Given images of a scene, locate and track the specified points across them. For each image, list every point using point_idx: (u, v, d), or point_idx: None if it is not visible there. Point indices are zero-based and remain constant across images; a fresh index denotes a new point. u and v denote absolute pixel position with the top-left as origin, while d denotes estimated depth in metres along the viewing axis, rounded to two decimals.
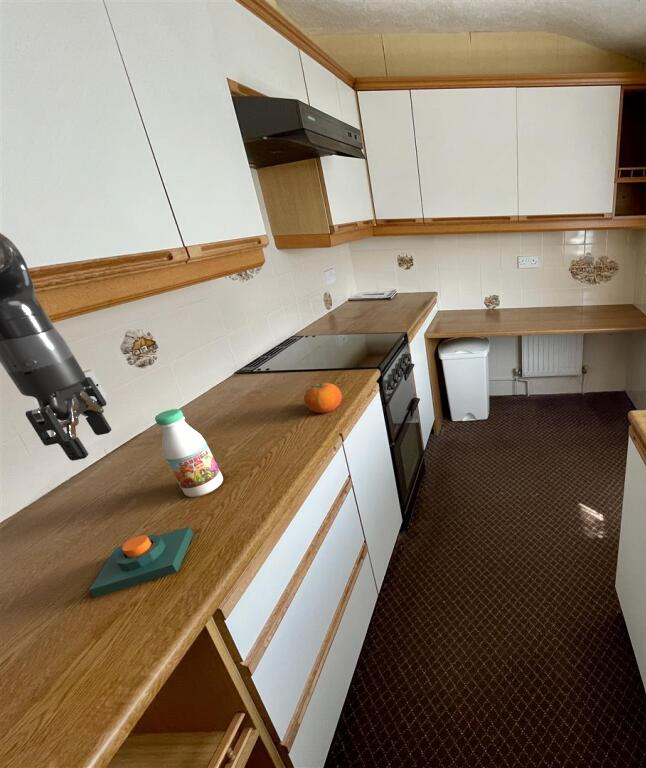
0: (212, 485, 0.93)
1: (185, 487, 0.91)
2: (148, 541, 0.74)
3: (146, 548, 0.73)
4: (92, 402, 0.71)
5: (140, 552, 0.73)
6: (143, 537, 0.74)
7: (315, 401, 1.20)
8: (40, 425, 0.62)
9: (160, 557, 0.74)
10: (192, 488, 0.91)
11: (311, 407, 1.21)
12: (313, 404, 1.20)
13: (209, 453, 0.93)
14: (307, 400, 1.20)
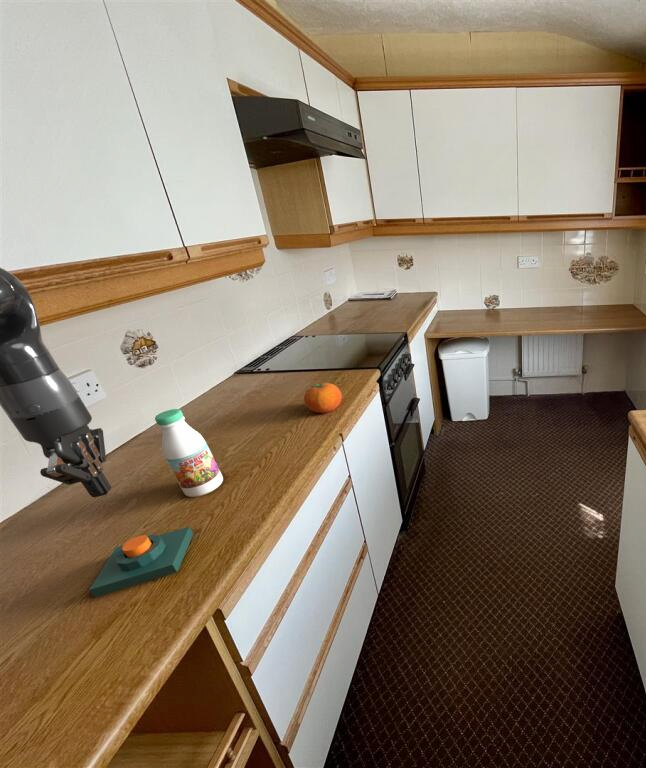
0: (212, 485, 0.93)
1: (185, 487, 0.91)
2: (148, 541, 0.74)
3: (146, 548, 0.73)
4: (95, 451, 0.66)
5: (140, 552, 0.73)
6: (143, 537, 0.74)
7: (315, 401, 1.20)
8: (61, 477, 0.61)
9: (160, 557, 0.74)
10: (192, 488, 0.91)
11: (311, 407, 1.21)
12: (313, 404, 1.20)
13: (209, 453, 0.93)
14: (307, 400, 1.20)
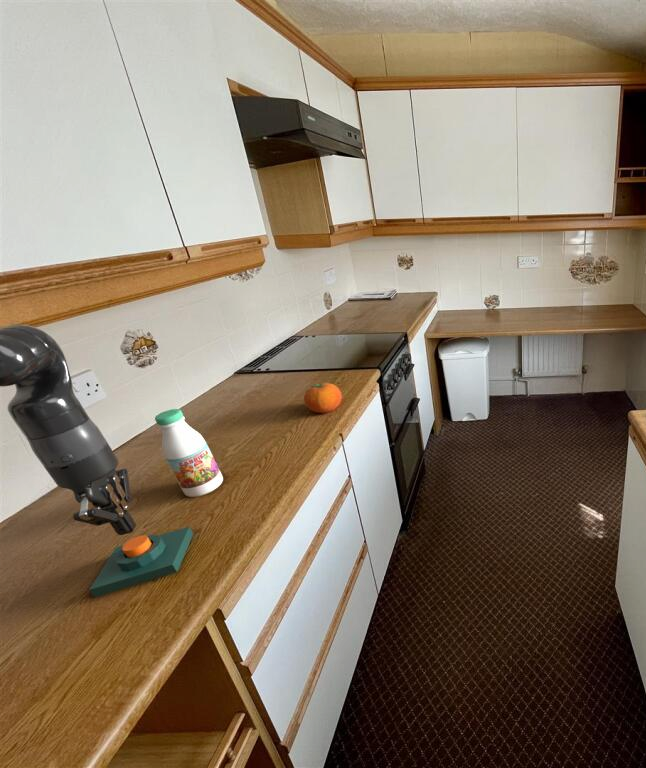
0: (212, 485, 0.93)
1: (185, 487, 0.91)
2: (148, 541, 0.74)
3: (146, 548, 0.73)
4: (121, 492, 0.70)
5: (140, 552, 0.73)
6: (143, 537, 0.74)
7: (315, 401, 1.20)
8: (91, 520, 0.65)
9: (160, 557, 0.74)
10: (192, 488, 0.91)
11: (311, 407, 1.21)
12: (313, 404, 1.20)
13: (209, 453, 0.93)
14: (307, 400, 1.20)
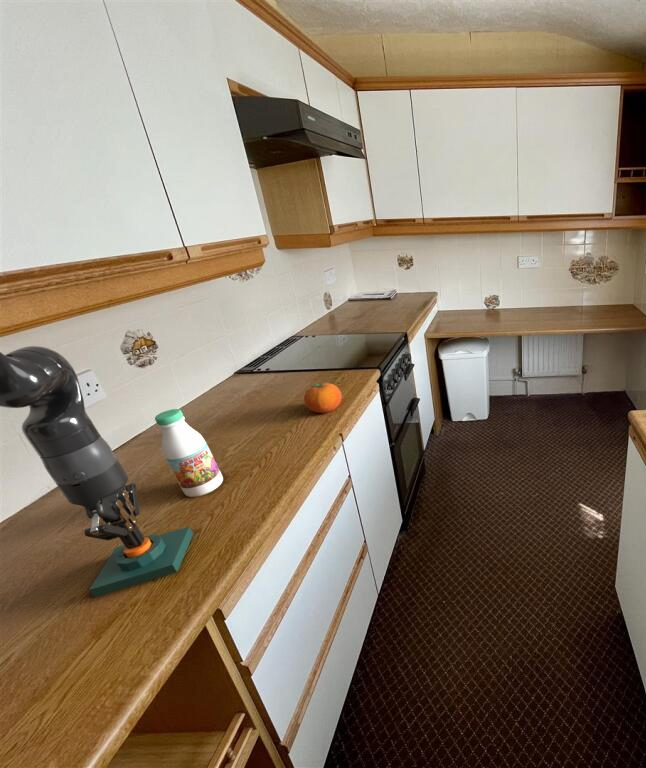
0: (212, 485, 0.93)
1: (185, 487, 0.91)
2: (149, 543, 0.74)
3: None
4: (130, 507, 0.71)
5: None
6: (144, 539, 0.75)
7: (315, 401, 1.20)
8: (102, 535, 0.66)
9: (160, 557, 0.74)
10: (192, 488, 0.91)
11: (311, 407, 1.21)
12: (313, 404, 1.20)
13: (209, 453, 0.93)
14: (307, 400, 1.20)
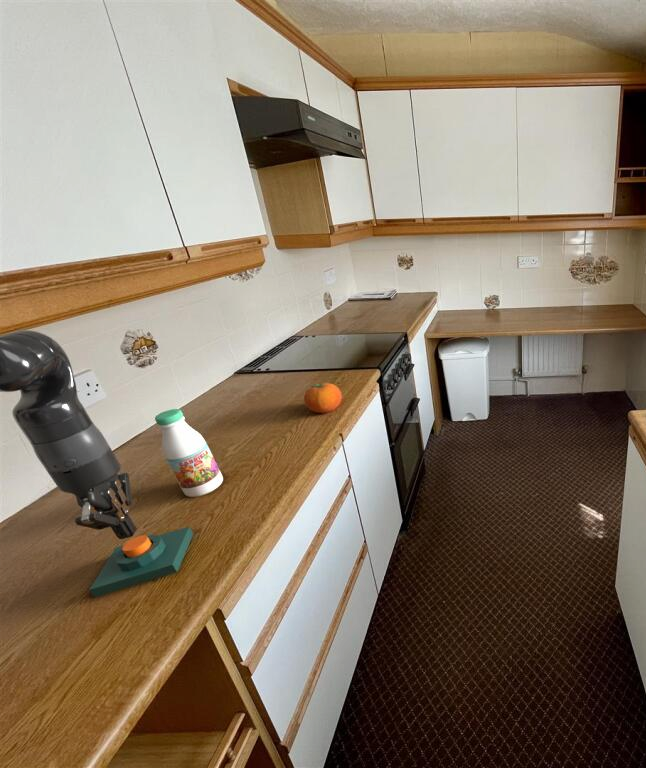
0: (212, 485, 0.93)
1: (185, 487, 0.91)
2: (148, 541, 0.74)
3: (146, 548, 0.74)
4: (122, 496, 0.70)
5: (140, 552, 0.73)
6: (143, 537, 0.74)
7: (315, 401, 1.20)
8: (93, 524, 0.65)
9: (160, 557, 0.74)
10: (192, 488, 0.91)
11: (311, 407, 1.21)
12: (313, 404, 1.20)
13: (209, 453, 0.93)
14: (307, 400, 1.20)
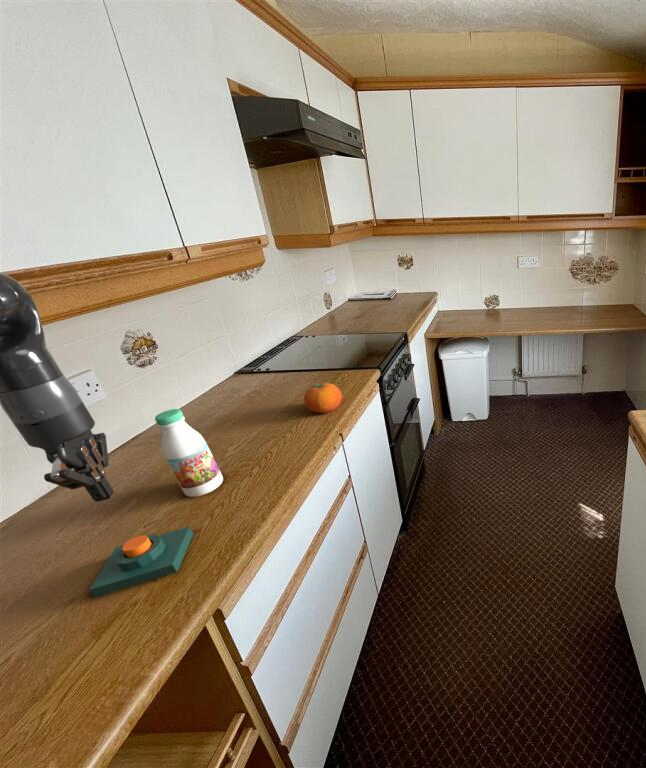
0: (212, 485, 0.93)
1: (185, 487, 0.91)
2: (148, 541, 0.74)
3: (146, 548, 0.74)
4: (97, 456, 0.67)
5: (140, 552, 0.73)
6: (143, 537, 0.74)
7: (315, 401, 1.20)
8: (64, 482, 0.61)
9: (160, 557, 0.74)
10: (192, 488, 0.91)
11: (311, 407, 1.21)
12: (313, 404, 1.20)
13: (209, 453, 0.93)
14: (307, 400, 1.20)
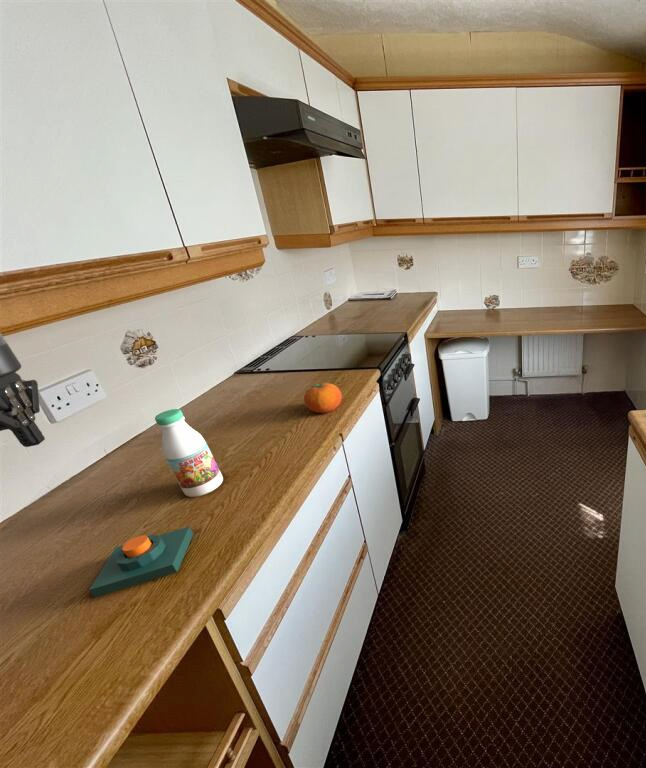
0: (212, 485, 0.93)
1: (185, 487, 0.91)
2: (148, 541, 0.74)
3: (146, 548, 0.74)
4: (25, 400, 0.67)
5: (140, 552, 0.73)
6: (143, 537, 0.74)
7: (315, 401, 1.20)
8: None
9: (160, 557, 0.74)
10: (192, 488, 0.91)
11: (311, 407, 1.21)
12: (313, 404, 1.20)
13: (209, 453, 0.93)
14: (307, 400, 1.20)
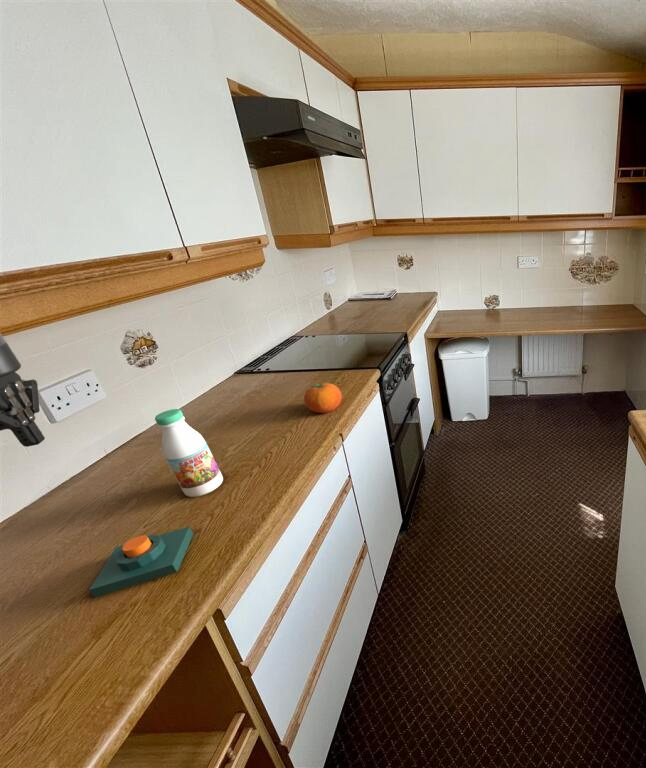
0: (212, 485, 0.93)
1: (185, 487, 0.91)
2: (148, 541, 0.74)
3: (146, 548, 0.74)
4: (25, 400, 0.67)
5: (140, 552, 0.73)
6: (143, 537, 0.74)
7: (315, 401, 1.20)
8: None
9: (160, 557, 0.74)
10: (192, 488, 0.91)
11: (311, 407, 1.21)
12: (313, 404, 1.20)
13: (209, 453, 0.93)
14: (307, 400, 1.20)
